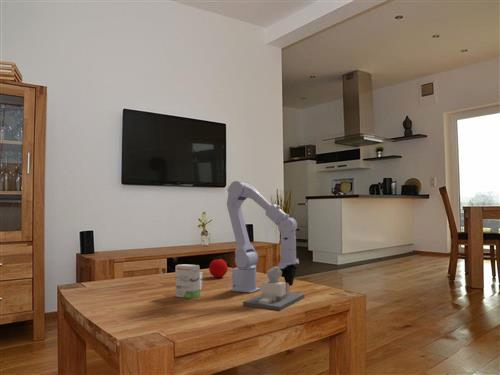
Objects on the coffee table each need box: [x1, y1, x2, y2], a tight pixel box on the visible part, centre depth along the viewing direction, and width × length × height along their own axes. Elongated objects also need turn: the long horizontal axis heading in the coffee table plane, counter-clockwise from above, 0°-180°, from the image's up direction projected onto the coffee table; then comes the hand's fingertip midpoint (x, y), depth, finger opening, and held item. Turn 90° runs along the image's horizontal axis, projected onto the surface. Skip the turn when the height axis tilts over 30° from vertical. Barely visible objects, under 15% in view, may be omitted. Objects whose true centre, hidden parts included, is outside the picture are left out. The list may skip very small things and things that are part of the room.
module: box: [260, 280, 286, 301], centre depth 129 cm, size 8×4×6 cm, turn 59°
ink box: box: [174, 263, 201, 299], centre depth 140 cm, size 9×5×12 cm, turn 59°
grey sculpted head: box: [266, 265, 283, 281], centre depth 165 cm, size 6×7×7 cm
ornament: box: [208, 256, 229, 278], centre depth 179 cm, size 9×9×10 cm
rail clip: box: [286, 283, 290, 292], centre depth 136 cm, size 4×2×3 cm, turn 59°
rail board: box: [242, 290, 305, 311], centre depth 130 cm, size 14×20×3 cm
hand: (289, 285), depth 141 cm, fingers closed
